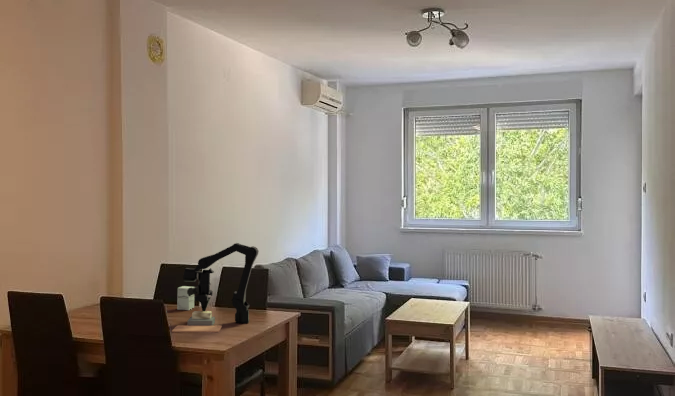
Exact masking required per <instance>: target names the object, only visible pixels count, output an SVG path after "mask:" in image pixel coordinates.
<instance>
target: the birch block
mask: <svg viewBox="0 0 675 396" xmlns="http://www.w3.org/2000/svg"><path fill="white" fill-rule="evenodd" d="M191 317H192V319H211V317H213V313H212V311H211V310H206V311H202V310H198V311H197V310H194V311H192V313H191Z"/></svg>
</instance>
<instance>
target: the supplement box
mask: <svg viewBox="0 0 675 396" xmlns="http://www.w3.org/2000/svg"><path fill="white" fill-rule="evenodd" d="M191 287H192V288H194V287H195V286H187V285H182V286H179V287H177V300H176V302H177V303H176V304H177V306H176V307H177V309H176V310H180V311H191V310H193V309H192V308H194V309H195V294H193V295H191V296H189V295H188V294H187V290H188V289H189V288H191ZM190 309H191V310H190Z"/></svg>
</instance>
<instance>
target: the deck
mask: <svg viewBox="0 0 675 396" xmlns="http://www.w3.org/2000/svg"><path fill="white" fill-rule="evenodd" d="M215 323H216V317H215V316H212V317H211V319H192V316H191V317H190V316H189V318H188V320H187V324H186V325H212V326H214V324H215Z"/></svg>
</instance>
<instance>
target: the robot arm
mask: <svg viewBox="0 0 675 396" xmlns="http://www.w3.org/2000/svg"><path fill="white" fill-rule="evenodd" d="M236 252H237V253H240V254H242V255H244V256H245V257H244V267H243V271H242V274H241V277H240V282H239V285H238V288H237V291H234V292H233V293H232V294H233V295H232V299H231V301H232V302H231V304H232V306H233V307H234V308H235V313H234V322H235V324H249V322H250V309H249V308H250V304H249V303H248V302H247V301H246V298H247V288H248V284H249V280H250V276H251V272H252V269H253V265H254V263H255V262H256V259H257V257H258V255H259V249H258V248H257V247H256V246H248V245H244V244H241V243H239V242H236V243H233V244H232V245H231V246H228V247H227V248H224V249H222V250H219V251H218V252H216V253H214V254H210V255H207V256H204V257H201V258H200V259H198V261H197V265H196V267H195V268H189V267H186V268H184V272H183V274H182V278H183V282H194V283H195V282H197V280H198V284H197V285H196V286H190V287H191V288H189V289H188V290H187V294H188V295H189V296H191V295H193V294H194V302H200V303H199V304H200V307H201V311H207V308H208V306H209V303H210V301H211V299H212V296H213V295H214V290H212V289H211V285H212V284H211V274H213V273H215V271H214V270H213V269H212V268H209V267H211V266H213V264H215V263H216V262H217V261H219V260H221V259H224V258H225V257H228V256H229V255H231V254H233V253H236ZM192 287H194V288H192ZM209 296H211V297H209Z"/></svg>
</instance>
